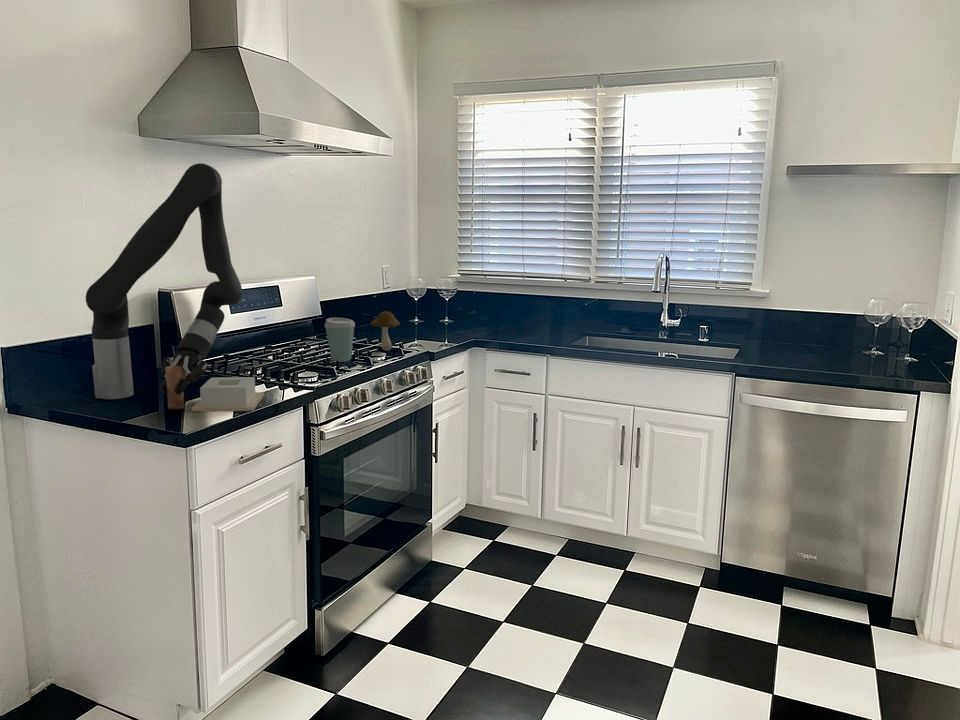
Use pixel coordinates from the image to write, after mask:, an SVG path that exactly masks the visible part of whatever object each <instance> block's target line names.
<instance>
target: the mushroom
mask: <svg viewBox="0 0 960 720" xmlns="http://www.w3.org/2000/svg"><path fill="white" fill-rule="evenodd" d="M400 323H401V322H400V321H399V320H397V318H396V317H395V315H394V314H393V313H392V312H390V311H387V310H386V311H382V312H380V313H379V315H378V316H377V317H376V318H374V319H373V320H371V321H370V325H371V326H373V327H376V328H377V327H378V328H381V348H382V350H383V351H385V352H388V351H389V352H390V351H391V350H392V342H391V339H390V337H389V332H388V331H389V330H388V329H389V328H395V327H398V326H400Z"/></svg>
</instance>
